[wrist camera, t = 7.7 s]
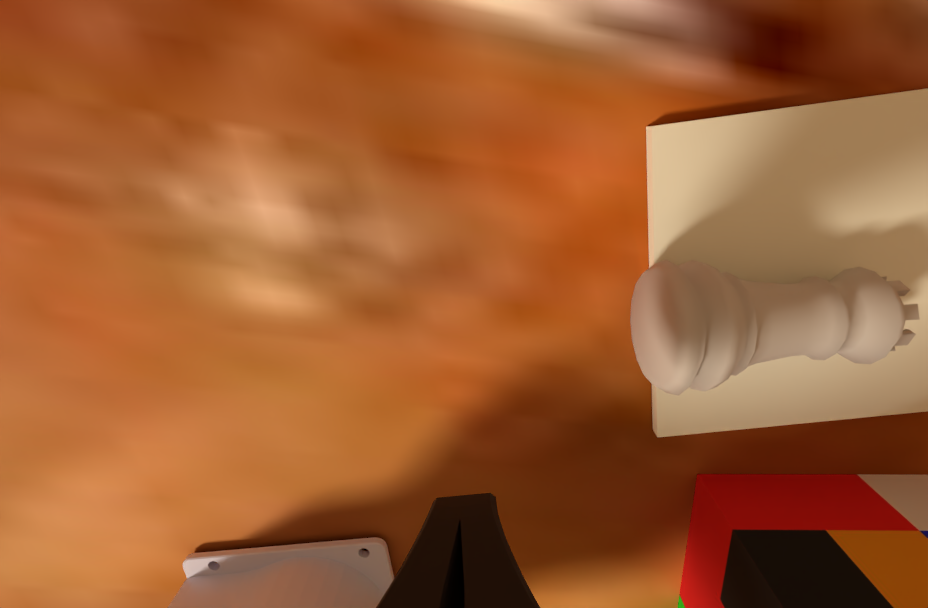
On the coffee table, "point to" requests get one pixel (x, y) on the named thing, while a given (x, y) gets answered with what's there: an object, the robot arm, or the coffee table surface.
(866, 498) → the puzzle toy
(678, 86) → the coffee table surface
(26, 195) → the coffee table surface
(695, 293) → the rook chess piece
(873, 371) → the paper sticky note
